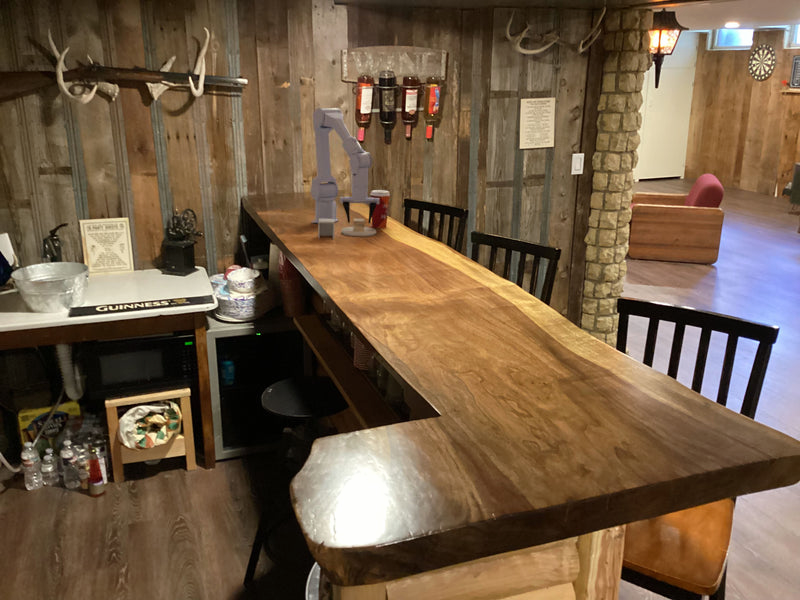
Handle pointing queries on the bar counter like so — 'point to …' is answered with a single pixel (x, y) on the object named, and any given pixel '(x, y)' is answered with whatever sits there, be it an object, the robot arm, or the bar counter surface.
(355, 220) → the maple block
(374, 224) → the paper cup
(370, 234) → the ceramic dish
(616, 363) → the bar counter surface
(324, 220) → the grey open box
